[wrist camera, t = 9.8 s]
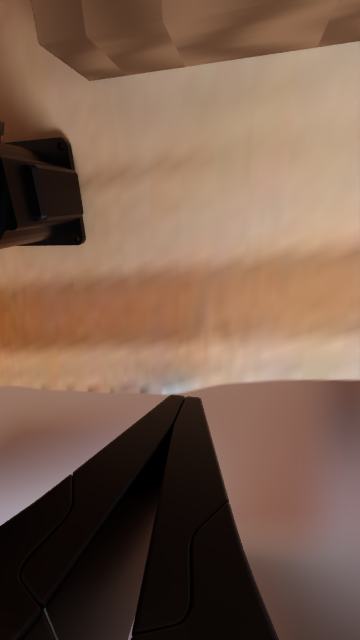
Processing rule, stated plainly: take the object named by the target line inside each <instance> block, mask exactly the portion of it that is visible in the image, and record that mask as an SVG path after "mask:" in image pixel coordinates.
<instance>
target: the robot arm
mask: <svg viewBox="0 0 360 640" xmlns="http://www.w3.org/2000/svg"><path fill="white" fill-rule="evenodd" d="M3 133H4V122H2V121H0V138H1V136H3ZM61 144H63V145H64V150H63V151H62V150H61ZM82 215H83V207H82V201H81V194H80V188H79V182H78V175H77V173H76V172H75V168H74V161H73V155H72V149H71V145H70V143H69V141H68V140H66V139H64V138H49V139H40V140H30V141H20V142H11V143H1V142H0V249H3V248H8V247H12V246H47V245H80V244H83V243H84V242H85V240H86V236H85V230H84V223H83V217H82ZM76 235H79V237H80V240H77V238H76ZM135 614H136V615H135ZM134 617H135V620H134ZM133 621H134V625H133V630H132V638H131V640H279V639H278V636H277V634H276V631H275V629H274V626H273V624H272V621H271V619H270V616H269V614H268V612H267V609H266V607H265V604H264V602H263V599H262V597H261V594H260V592H259V590H258V587H257V585H256V582H255V579H254V576H253V574H252V571H251V569H250V566H249V563H248V561H247V558H246V555H245V552H244V550H243V546H242V543H241V540H240V537H239V534H238V530H237V527H236V524H235V520H234V517H233V513H232V510H231V506H230V504H229V499H228V496H227V493H226V488H225V485H224V481H223V477H222V474H221V470H220V467H219V463H218V459H217V455H216V452H215V448H214V444H213V441H212V437H211V433H210V430H209V426H208V423H207V419H206V415H205V412H204V408H203V405H202V401H201V399H200V398H199V397H190V396H188V397H186V398H185V397H184V396H180V395H170V396H168V397H167V398H166V399H165V400H163V401H162V402H161V403H160V404H158V405H157V406H156V407H155V408H153V409H152V410H151V411H150V412H148V413H147V414H146V415H145V416H143V417H142V418H141V419H140V420H138V421H137V422H136V423H134V424H133V425H132V426H131V427H129V428H128V429H127V430H126V431H124V432H123V433H122V434H121V435H119V436H118V437H117V438H116V439H114V440H113V441H112V442H110V444H108V445H107V446H106V447H104V448H103V449H102V450H100V451H99V452H98V453H97V454H95V455H94V456H93V457H92V458H90V459H89V460H88V461H87V462H85V463H84V464H83V465H82V466H80V467H79V468H78V469H76V470H75V471H74V472H73V476H72V475H69V476H68V477H66V478H65V479H64V480H62V481H61V482H60V483H59V484H57V485H56V486H55V487H53V488H52V489H51V490H50V491H48V492H47V493H46V494H44V495H43V496H42V497H40V498H39V499H38V500H36V501H35V502H34V503H32V504H31V505H30V506H28V507H27V508H25V509H24V510H22V511H21V512H20V513H18V514H17V515H15V516H14V517H12V518H11V519H10V520H8V521H7V522H5V523H4V524H3V525H1V526H0V640H128V636H129V633H130V630H131V627H132V624H133Z"/></svg>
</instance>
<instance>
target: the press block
mask: <svg viewBox="0 0 360 640" xmlns="http://www.w3.org/2000/svg"><path fill="white" fill-rule="evenodd" d="M31 3H32V9H33V14H34V20H35V25H36V31H37V37H38V42H39V45H41V46H42V47H44V48H45V49H46V50H48V51H49V52H50V53H52V54H53V55H55V56H56V57H57V58H59V59H60V60H61V61H63V62H64V63H66V64H67V65H68V66H70V67H71V68H72V69H74V70H75V71H77V72H78V73H79V74H81V75H82V76H84V77H85V78H86V79H88V80H89V81H92V80H99V79H106V78H113V77H119V76H126V75H133V74H140V73H146V72H153V71H160V70H167V69H173V68H180V67H187V66H194V65H200V64H207V63H214V62H220V61H227V60H234V59H241V58H247V57H254V56H261V55H268V54H274V53H281V52H288V51H295V50H301V49H308V48H315V47H322V46H328V45H335V44H342V43H349V42H355V41H360V0H31Z"/></svg>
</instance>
